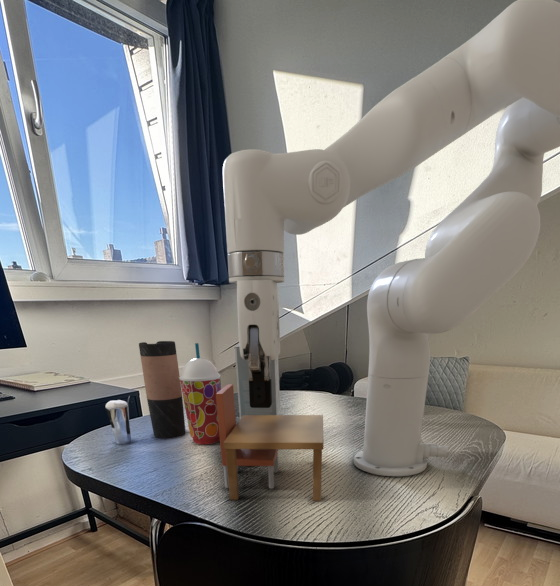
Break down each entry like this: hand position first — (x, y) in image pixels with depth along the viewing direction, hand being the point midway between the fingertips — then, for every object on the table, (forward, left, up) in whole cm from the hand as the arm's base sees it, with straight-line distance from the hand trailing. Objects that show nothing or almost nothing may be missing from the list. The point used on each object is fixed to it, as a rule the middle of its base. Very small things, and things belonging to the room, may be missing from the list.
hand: (261, 406), depth 63 cm
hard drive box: (+3, -24, -13) cm, 27 cm away
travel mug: (+25, -27, -13) cm, 39 cm away
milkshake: (+33, -21, -13) cm, 41 cm away
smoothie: (+15, -22, -13) cm, 30 cm away
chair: (+2, 0, -12) cm, 12 cm away
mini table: (-3, 0, -12) cm, 13 cm away
